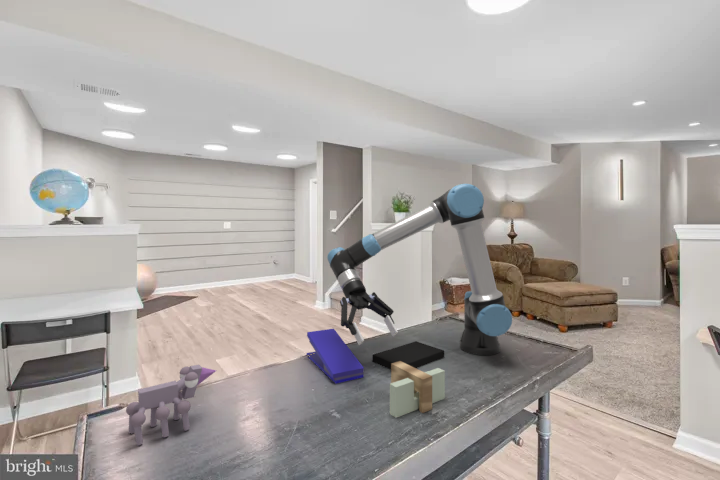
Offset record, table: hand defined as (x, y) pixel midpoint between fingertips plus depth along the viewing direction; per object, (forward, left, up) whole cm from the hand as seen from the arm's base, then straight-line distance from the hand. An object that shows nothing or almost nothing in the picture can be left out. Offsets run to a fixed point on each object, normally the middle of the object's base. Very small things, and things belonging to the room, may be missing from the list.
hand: (379, 338), depth 112 cm
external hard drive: (-19, -8, -14) cm, 25 cm away
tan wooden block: (+1, +16, -13) cm, 21 cm away
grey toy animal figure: (+57, -8, -14) cm, 59 cm away
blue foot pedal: (+7, -18, -14) cm, 24 cm away
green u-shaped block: (+1, +19, -13) cm, 23 cm away
